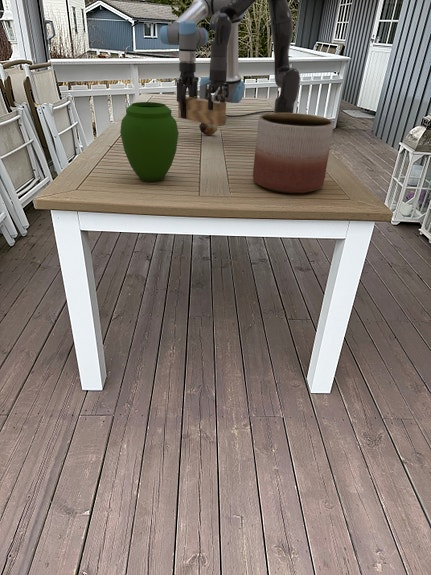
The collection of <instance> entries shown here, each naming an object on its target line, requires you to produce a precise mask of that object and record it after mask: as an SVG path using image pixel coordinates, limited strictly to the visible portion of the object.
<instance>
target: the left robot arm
mask: <svg viewBox="0 0 431 575" xmlns="http://www.w3.org/2000/svg"><path fill="white" fill-rule="evenodd" d="M229 1H230V0H193V1H192V2H191V5H190V6H189V7H188V8H187V9H186V10H185V11H184V12H182V13H181V14H180V15H179V16H178V17H177V19H175V20H174V21H173V22H172V24H170V25H168V24H167V25H162V26H161V27H160V28H159V40H160V42H161V43H162V44H163V45H168V46H178V47H179V48H178V61H179V64H178V71H179V73H180V74H179V77H176V78H175V82H176V102H177V103H178V102H179V103H180V110H181V118H186V103H185V98H186V96H187V94H188V97H194V98H200V99H205V89H206V84H210V85H211V81H210V80H209V76H206V77H201V78H200V80H199V77H198V76H196V75H195V73H196V71H197V64H196V60H197V52H196V51H197V47H198V48H199V47H200V48H202V47H204V46H206V45H207V44H208V42H209V33H208V31H207V30H206V28H204V27H201V26H197V24H198V23H199V22H200V21H203V20H205V19H207V18H212V16H213V15H214V14H215V13H216V12H217V11H218V10H219V9H221V8H222V7H223V6H225V5H226V4H227V3H228V2H229ZM244 17H245V13H244V14H243V15H242V16H240V17H239V18H237V19H235V20H233V21H232V22H231V23H232V28H231V34H230V39H229V43H228V53H227V80H226V81H225V82H224V83H229V97H228V98H226V100H225V103H230V104H239V103H240V102H241V101H242V100H243V97H244V94H245V88H246V84H245V82H244V81H242V76H241V75H240V74H239V25H240V23H241V22H242V19H243V18H244ZM198 84H199V85H198ZM198 87H199V88H198ZM198 89H199V92H198ZM187 92H188V93H187ZM198 93H199V94H198ZM225 93H226V92H225ZM198 95H199V97H198ZM225 95H226V94H225ZM208 96H209V94H208ZM211 98H212V96H211ZM220 99H221V98H220V96H219V95H216V97H215V98H214V100H213V101H218V102H220ZM206 100H207V99H206ZM261 113H262V114H265V113H274V110H259V111H254V112H250V113H246V114H234V115H232V114H231V115H230V114H226V117H227V118H228V117H229V118H240V117H246V116H252V115H255V114H261ZM226 117H225V118H226ZM181 118H180V119H181Z"/></svg>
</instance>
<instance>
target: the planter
mask: <svg viewBox="0 0 431 575" xmlns="http://www.w3.org/2000/svg"><path fill="white" fill-rule="evenodd" d="M334 128H335V121H333V120H332V119H330V118H327V117H324V116H321V115H320V116H319V115H316V114H315V115H314V114H307V113H299V112H293V113H274V112H267V113H262V114H261V115H259V116H258V121H257V132H256V142H255V150H254V159H253V168H252V180H253V181H254V182H255V183H256V184H257V185H258V186H260V187H262V188H263V189H267V190H269V191H273V192H276V193H282V194H307V193H312V192H315V191H317V190H319V189H321V188H322V187H323V185H324V182H325V178H326V173H327V167H328V161H329V156H330V150H331V144H332V139H333V133H334Z"/></svg>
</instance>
